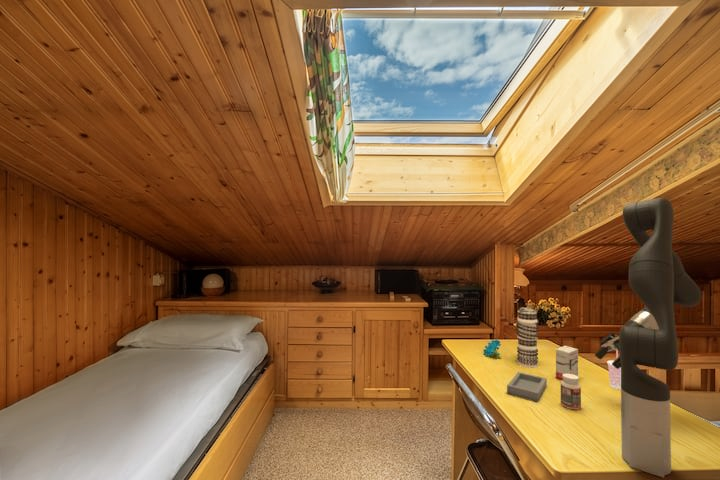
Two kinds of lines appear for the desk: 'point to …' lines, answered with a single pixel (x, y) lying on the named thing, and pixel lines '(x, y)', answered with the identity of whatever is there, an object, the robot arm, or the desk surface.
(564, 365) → the ink box
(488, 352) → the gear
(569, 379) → the pill bottle
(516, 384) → the tray
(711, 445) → the desk surface
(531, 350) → the black white patterned cylinder
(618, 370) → the beverage cup
